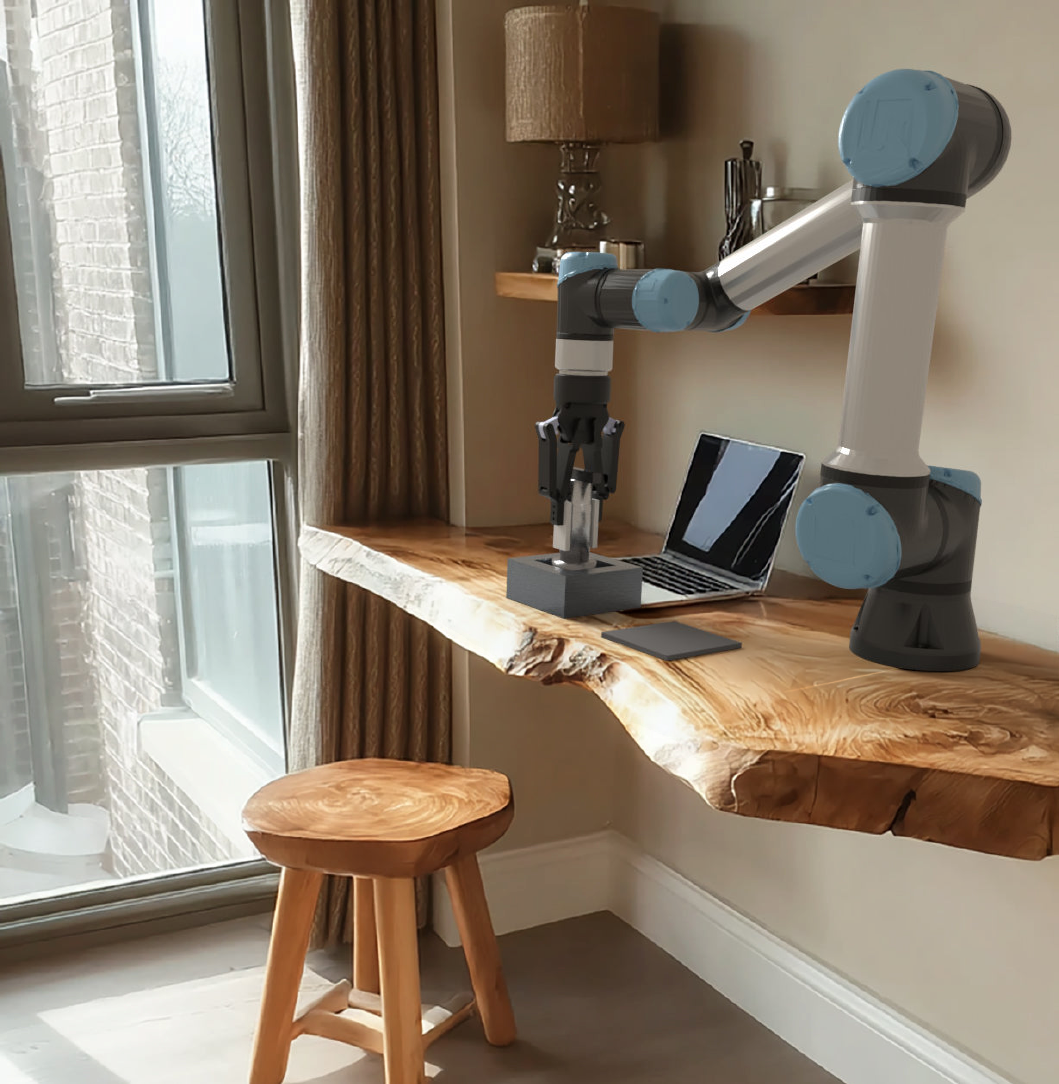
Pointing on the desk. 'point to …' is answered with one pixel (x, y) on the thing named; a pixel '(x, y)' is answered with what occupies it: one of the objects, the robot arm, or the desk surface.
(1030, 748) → the desk surface
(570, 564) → the chuck key
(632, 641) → the mat
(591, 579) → the block
